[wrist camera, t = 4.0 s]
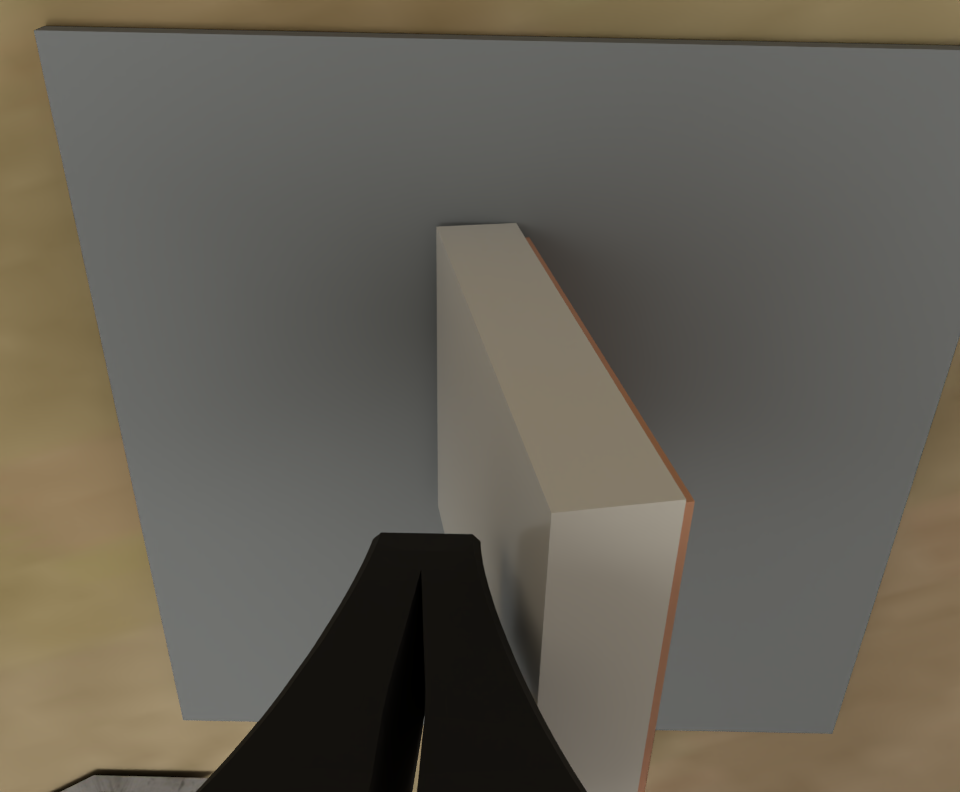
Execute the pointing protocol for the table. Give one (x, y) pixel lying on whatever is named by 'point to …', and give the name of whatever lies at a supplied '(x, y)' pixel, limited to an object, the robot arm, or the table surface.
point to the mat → (579, 272)
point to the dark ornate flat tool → (137, 784)
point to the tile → (557, 500)
